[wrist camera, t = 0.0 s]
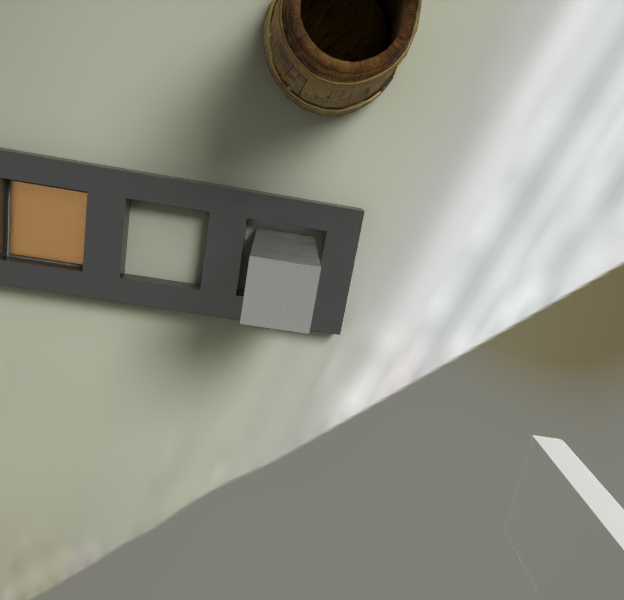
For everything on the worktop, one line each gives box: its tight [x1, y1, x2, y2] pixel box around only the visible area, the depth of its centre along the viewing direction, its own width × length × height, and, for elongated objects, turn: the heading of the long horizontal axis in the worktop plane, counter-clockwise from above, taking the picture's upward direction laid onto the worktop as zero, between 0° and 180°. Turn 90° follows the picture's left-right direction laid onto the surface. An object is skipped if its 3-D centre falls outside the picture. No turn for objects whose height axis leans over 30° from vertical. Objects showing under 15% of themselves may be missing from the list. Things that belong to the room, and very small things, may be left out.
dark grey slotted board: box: [0, 148, 364, 335], centre depth 40 cm, size 9×26×1 cm, turn 80°
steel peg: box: [240, 228, 321, 334], centre depth 37 cm, size 4×4×9 cm
